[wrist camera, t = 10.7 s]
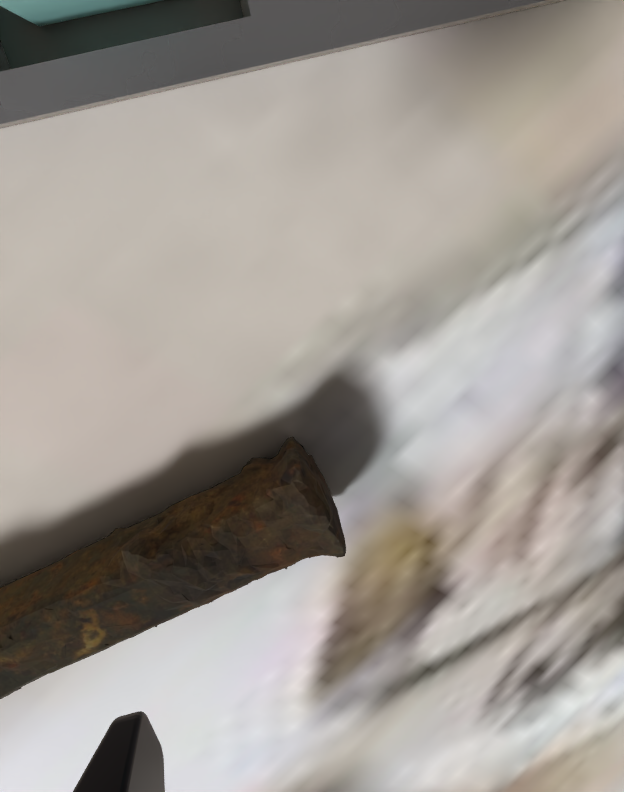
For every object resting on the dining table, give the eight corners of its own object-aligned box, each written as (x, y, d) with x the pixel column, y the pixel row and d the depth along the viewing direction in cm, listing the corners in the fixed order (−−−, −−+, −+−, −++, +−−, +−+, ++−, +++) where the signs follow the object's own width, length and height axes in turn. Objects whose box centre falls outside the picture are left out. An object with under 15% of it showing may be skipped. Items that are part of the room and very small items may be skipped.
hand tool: (298, 414, 21) (321, 488, 17) (337, 499, 23) (366, 585, 18) (-192, 619, 21) (-290, 741, 17) (-116, 687, 23) (-189, 813, 19)
